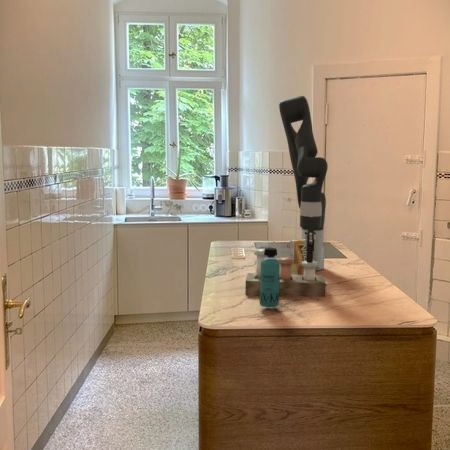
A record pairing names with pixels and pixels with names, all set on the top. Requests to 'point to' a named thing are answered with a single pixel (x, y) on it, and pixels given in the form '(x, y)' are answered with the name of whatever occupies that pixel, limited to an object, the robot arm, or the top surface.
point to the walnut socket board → (291, 286)
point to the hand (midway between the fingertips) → (309, 262)
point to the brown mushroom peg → (285, 267)
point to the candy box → (298, 256)
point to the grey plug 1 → (259, 260)
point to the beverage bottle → (269, 279)
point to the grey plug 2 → (309, 270)
